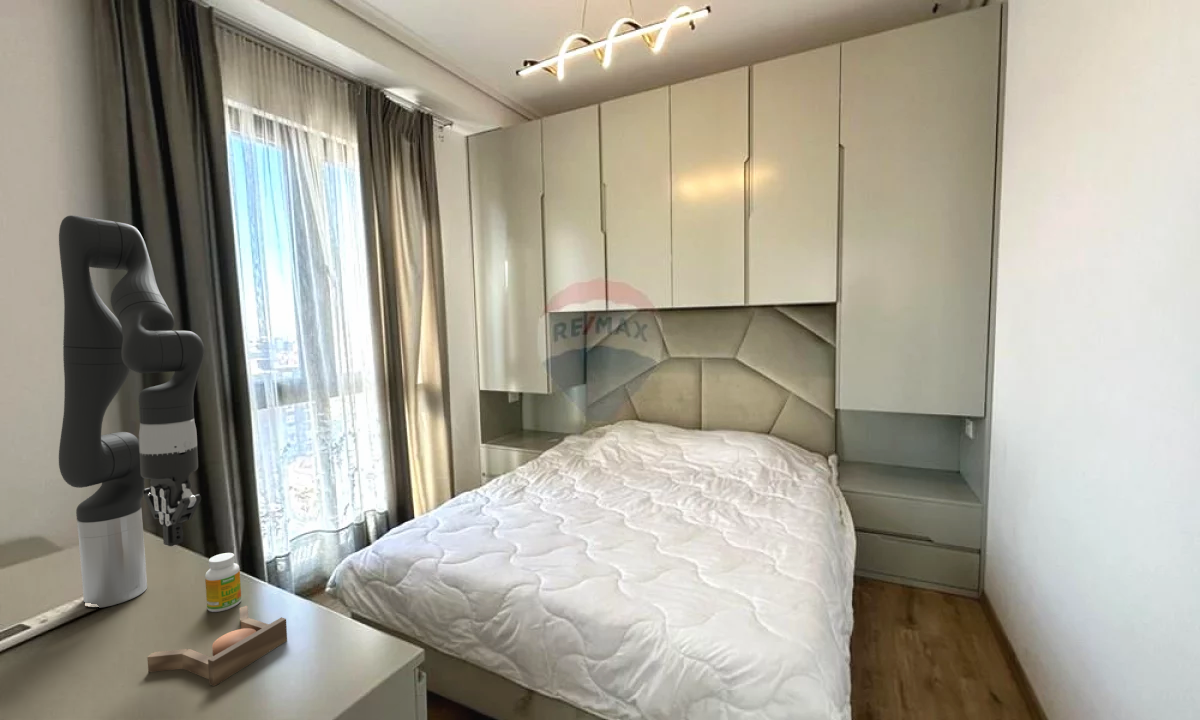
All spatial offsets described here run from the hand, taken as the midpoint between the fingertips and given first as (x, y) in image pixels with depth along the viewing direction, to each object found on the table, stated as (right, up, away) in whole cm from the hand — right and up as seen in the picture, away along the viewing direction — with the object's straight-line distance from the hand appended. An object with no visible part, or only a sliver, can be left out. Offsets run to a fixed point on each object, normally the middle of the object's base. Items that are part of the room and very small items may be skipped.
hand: (173, 543), depth 86 cm
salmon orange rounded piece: (+13, -17, -3) cm, 22 cm away
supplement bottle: (+1, -16, +11) cm, 20 cm away
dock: (+11, -17, -3) cm, 21 cm away
